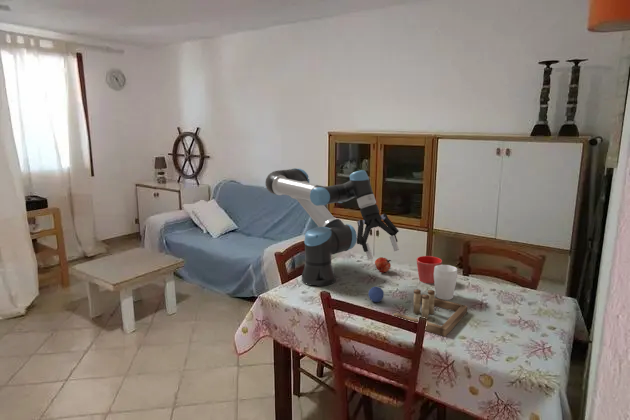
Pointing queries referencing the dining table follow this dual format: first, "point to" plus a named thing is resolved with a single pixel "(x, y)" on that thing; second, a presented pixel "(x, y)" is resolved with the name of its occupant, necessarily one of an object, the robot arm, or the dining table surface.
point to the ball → (376, 294)
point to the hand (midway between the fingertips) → (383, 254)
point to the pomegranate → (382, 264)
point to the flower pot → (427, 268)
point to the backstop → (449, 324)
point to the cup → (445, 281)
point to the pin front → (416, 301)
